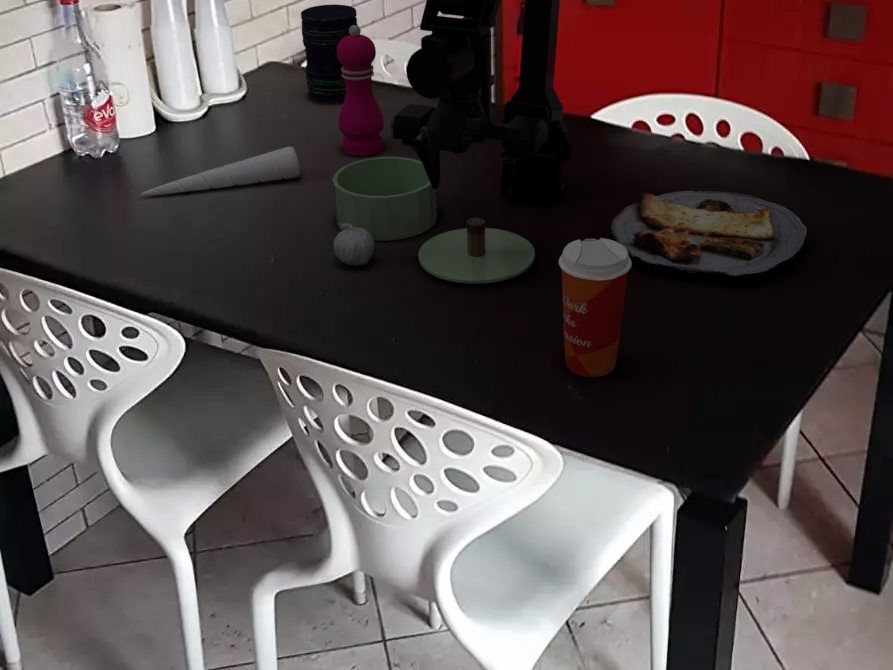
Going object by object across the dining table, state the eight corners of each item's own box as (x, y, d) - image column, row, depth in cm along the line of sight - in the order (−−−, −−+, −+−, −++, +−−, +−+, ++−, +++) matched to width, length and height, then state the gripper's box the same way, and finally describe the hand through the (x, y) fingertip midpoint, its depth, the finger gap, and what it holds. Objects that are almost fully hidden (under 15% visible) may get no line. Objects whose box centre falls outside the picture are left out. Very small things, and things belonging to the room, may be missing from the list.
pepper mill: (379, 158, 183) (371, 32, 173) (334, 156, 184) (324, 31, 174) (390, 142, 189) (383, 19, 179) (347, 139, 190) (338, 17, 180)
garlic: (326, 257, 154) (323, 222, 151) (363, 247, 156) (360, 212, 154) (346, 275, 150) (342, 239, 147) (383, 265, 152) (381, 229, 149)
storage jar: (369, 87, 213) (364, 5, 205) (353, 105, 204) (347, 20, 197) (317, 84, 215) (310, 3, 207) (299, 102, 207) (291, 18, 199)
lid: (549, 244, 156) (550, 205, 153) (512, 296, 144) (512, 255, 141) (444, 228, 161) (443, 190, 158) (400, 277, 149) (397, 237, 146)
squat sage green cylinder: (452, 205, 167) (451, 163, 164) (413, 247, 156) (411, 203, 153) (363, 192, 172) (360, 151, 169) (318, 232, 161) (315, 189, 158)
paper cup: (551, 348, 133) (553, 237, 126) (617, 343, 133) (623, 233, 126) (562, 385, 126) (565, 271, 119) (632, 380, 127) (640, 266, 120)
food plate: (590, 267, 150) (591, 243, 148) (633, 196, 168) (635, 174, 166) (790, 297, 141) (793, 272, 140) (812, 219, 160) (816, 196, 158)
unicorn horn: (140, 187, 176) (135, 158, 173) (297, 170, 180) (295, 141, 178) (141, 200, 172) (135, 170, 169) (301, 182, 176) (298, 152, 174)
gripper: (368, 86, 136) (376, 208, 144) (520, 102, 130) (519, 229, 138) (406, 58, 145) (411, 175, 153) (550, 72, 139) (547, 193, 147)
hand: (469, 193), depth 147 cm, fingers open, 9 cm apart
